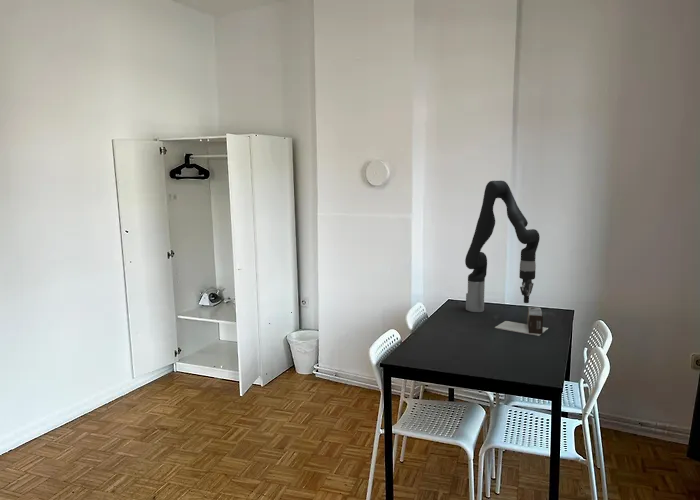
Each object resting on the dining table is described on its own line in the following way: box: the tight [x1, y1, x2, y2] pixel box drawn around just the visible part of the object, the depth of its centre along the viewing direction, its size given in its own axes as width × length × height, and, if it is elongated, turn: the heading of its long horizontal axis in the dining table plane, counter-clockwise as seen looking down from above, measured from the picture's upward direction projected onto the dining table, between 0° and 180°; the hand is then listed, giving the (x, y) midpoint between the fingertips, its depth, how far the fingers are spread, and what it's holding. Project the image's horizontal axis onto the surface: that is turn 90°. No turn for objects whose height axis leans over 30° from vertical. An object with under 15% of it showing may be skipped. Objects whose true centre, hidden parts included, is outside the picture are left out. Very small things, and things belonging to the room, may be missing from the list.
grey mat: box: [494, 320, 549, 337], centre depth 262 cm, size 22×14×1 cm, turn 52°
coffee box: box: [526, 306, 544, 335], centre depth 259 cm, size 9×6×16 cm
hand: (526, 302), depth 265 cm, fingers closed
